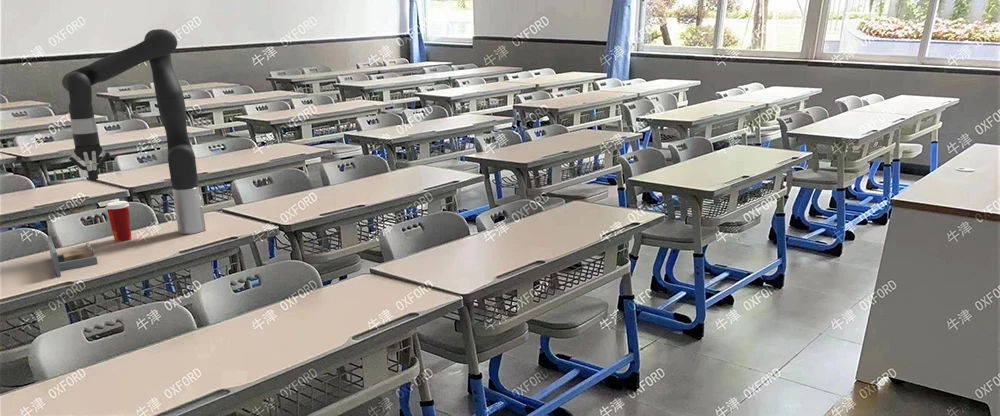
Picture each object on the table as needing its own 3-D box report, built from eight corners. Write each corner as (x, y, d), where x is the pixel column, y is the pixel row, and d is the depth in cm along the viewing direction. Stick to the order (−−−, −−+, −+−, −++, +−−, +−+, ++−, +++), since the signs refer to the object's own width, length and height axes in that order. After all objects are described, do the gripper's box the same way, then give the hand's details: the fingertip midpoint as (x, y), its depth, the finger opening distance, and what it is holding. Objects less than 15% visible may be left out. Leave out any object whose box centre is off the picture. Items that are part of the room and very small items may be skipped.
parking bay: (91, 251, 249) (87, 229, 247) (100, 268, 230) (96, 245, 228) (51, 258, 243) (47, 236, 241) (57, 277, 224) (52, 253, 222)
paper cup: (139, 236, 266) (133, 200, 263) (126, 242, 259) (120, 205, 255) (119, 236, 267) (113, 200, 263) (106, 242, 260) (100, 205, 256)
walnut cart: (91, 257, 242) (88, 242, 241) (93, 262, 237) (90, 246, 236) (64, 262, 238) (61, 247, 236) (66, 267, 233) (63, 251, 232)
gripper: (104, 128, 248) (113, 176, 253) (61, 132, 241) (70, 182, 245) (108, 130, 242) (116, 179, 247) (63, 134, 235) (73, 185, 239)
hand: (93, 180), depth 246 cm, fingers closed
